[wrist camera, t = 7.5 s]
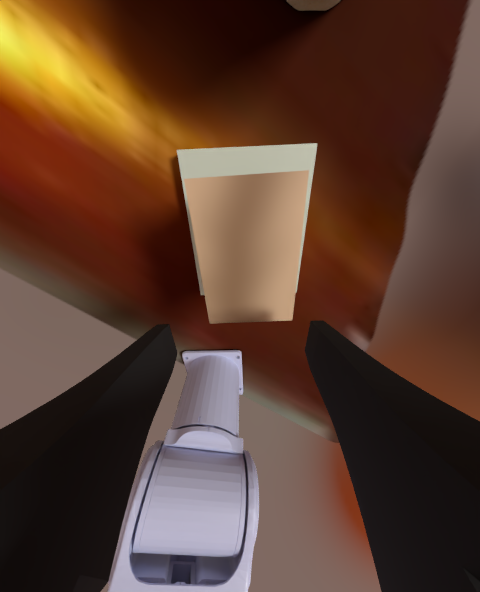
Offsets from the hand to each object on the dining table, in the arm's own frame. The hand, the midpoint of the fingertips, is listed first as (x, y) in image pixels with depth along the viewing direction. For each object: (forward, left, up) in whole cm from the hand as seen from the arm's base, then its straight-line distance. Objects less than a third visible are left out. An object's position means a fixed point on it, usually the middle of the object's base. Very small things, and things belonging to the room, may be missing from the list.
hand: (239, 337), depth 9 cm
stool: (+3, -1, -9) cm, 10 cm away
